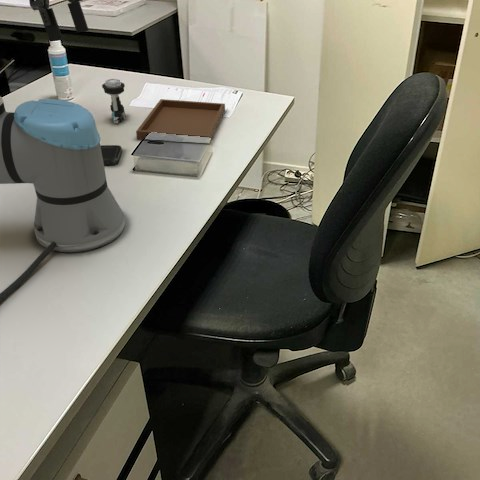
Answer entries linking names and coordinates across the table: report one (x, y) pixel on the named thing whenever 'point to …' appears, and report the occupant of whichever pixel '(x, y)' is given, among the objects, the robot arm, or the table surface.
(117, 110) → the push button
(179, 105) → the tray
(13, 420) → the table surface
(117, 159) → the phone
